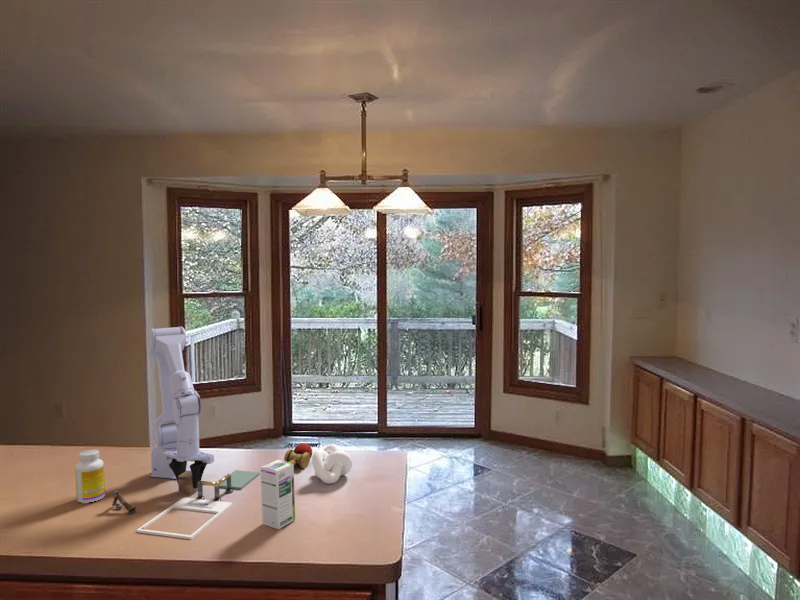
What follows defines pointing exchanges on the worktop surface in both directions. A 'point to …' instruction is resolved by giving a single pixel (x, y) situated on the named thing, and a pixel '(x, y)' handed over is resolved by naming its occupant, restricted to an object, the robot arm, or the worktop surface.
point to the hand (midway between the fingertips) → (189, 486)
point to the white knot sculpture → (331, 463)
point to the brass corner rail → (215, 487)
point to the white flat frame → (194, 506)
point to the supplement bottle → (90, 477)
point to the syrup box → (277, 494)
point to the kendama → (299, 455)
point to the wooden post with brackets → (123, 502)
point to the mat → (240, 479)
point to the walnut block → (186, 483)
